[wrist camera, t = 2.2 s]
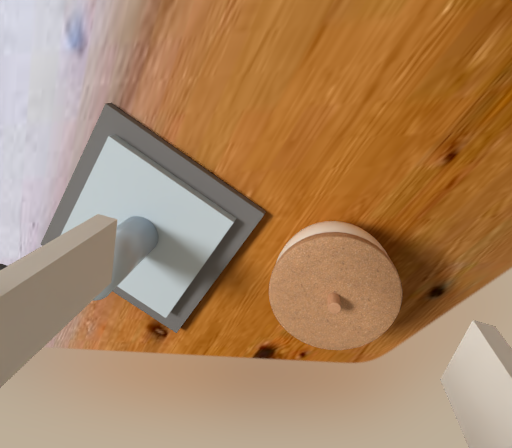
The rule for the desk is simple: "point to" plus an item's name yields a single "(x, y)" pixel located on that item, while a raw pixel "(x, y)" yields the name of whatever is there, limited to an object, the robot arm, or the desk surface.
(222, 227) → the lid
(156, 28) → the desk surface
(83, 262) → the robot arm
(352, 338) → the lidded jar
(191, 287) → the mat
